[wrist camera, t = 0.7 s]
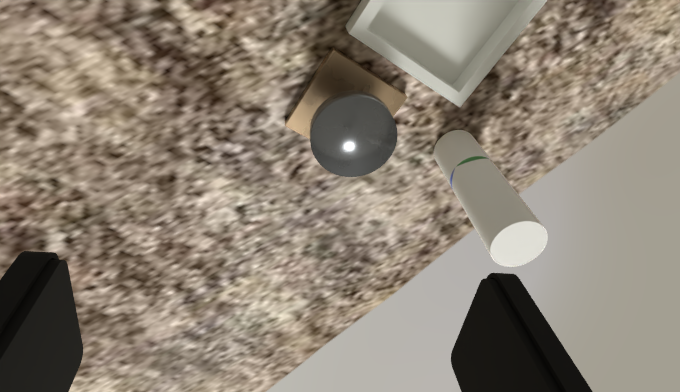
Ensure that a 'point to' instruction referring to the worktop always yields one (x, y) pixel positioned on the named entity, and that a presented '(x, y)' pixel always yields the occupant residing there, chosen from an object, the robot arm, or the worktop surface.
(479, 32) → the tray
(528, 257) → the tube
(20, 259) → the robot arm
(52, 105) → the worktop surface
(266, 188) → the worktop surface
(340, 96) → the knob on plate
